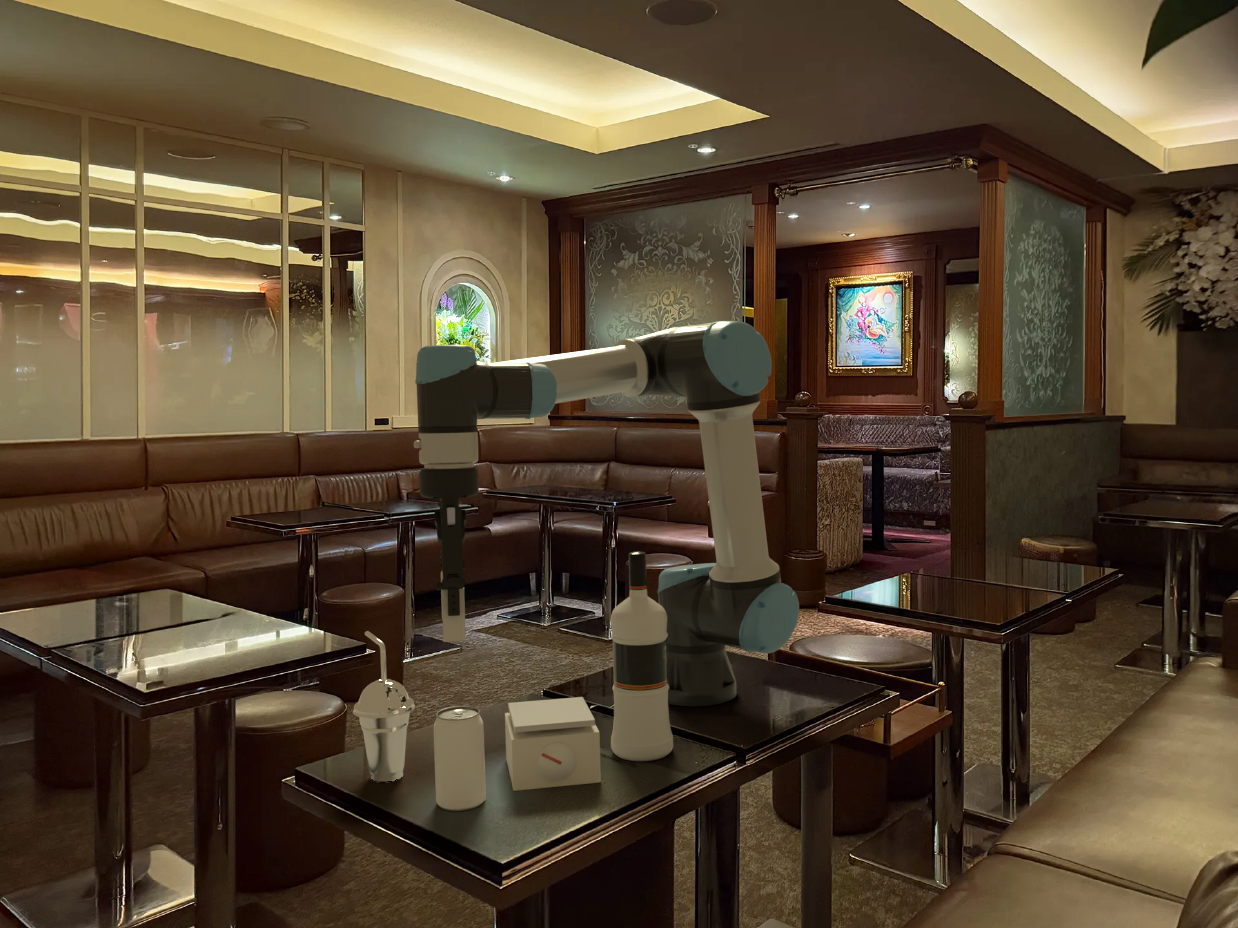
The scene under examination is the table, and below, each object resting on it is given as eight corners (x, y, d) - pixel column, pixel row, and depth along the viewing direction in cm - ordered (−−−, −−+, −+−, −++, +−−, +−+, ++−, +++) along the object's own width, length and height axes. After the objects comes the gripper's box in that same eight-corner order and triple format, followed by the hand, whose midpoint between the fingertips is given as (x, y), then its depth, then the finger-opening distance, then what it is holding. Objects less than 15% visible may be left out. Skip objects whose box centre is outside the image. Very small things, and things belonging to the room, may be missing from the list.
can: (489, 791, 132) (486, 704, 132) (481, 811, 126) (478, 719, 125) (442, 792, 133) (438, 705, 132) (431, 812, 126) (427, 720, 125)
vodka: (600, 748, 148) (594, 551, 146) (653, 737, 152) (648, 545, 151) (630, 767, 140) (624, 558, 138) (685, 755, 144) (680, 552, 142)
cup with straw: (353, 790, 134) (347, 646, 133) (358, 767, 143) (352, 631, 142) (417, 784, 136) (412, 641, 134) (417, 761, 144) (412, 627, 143)
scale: (587, 752, 147) (585, 695, 146) (601, 784, 134) (600, 722, 134) (506, 759, 144) (504, 702, 144) (513, 792, 132) (511, 730, 131)
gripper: (419, 462, 138) (424, 611, 139) (417, 472, 114) (423, 653, 115) (473, 460, 140) (477, 608, 141) (483, 470, 115) (487, 649, 116)
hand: (453, 629), depth 128 cm, fingers open, 13 cm apart
